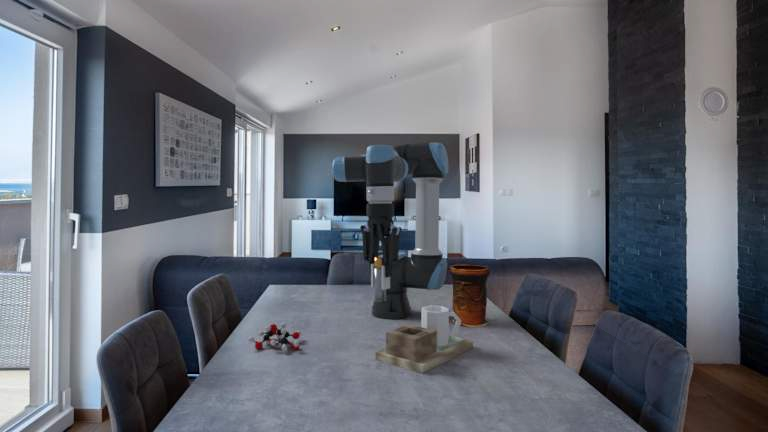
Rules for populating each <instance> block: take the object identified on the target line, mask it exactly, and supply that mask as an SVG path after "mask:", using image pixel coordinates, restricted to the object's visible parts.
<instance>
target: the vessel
mask: <svg viewBox="0 0 768 432" xmlns="http://www.w3.org/2000/svg"><path fill="white" fill-rule="evenodd" d="M449 273H450V275H451V277H452V310H453V311H452V312H454V313H455V314H456V315H457V316H458V317H459V319H460V320H461V324H460V326H461V325H462V326H465V327H468V328H469V327H472V328H473V327H474V328H476V327H485V326H487V325H488V322H489V321H487V320H486V315H487V314H486V313H487V309H486V308H487V305H488V304H487V302H488V300H487V298H488V297H487V281H488V278H489V276H490V273H491V271H490V268H489V267H488V266H486V265H478V264H475V265H474V264H454V265H451V266H449ZM451 322H453V323H456V319H455V318H453V319H452V320H451Z"/></svg>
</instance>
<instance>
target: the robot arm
mask: <svg viewBox="0 0 768 432" xmlns="http://www.w3.org/2000/svg"><path fill="white" fill-rule="evenodd" d="M449 169H450V167H449V158H448V152H447V149H446V147H445V145H444V144H443V143H441V142H432V141H431V142H430V141H429V142H414V143H413V142H412V143H399V144H395V145H389V144H372V145H369V146H367V148H366V153H365V154H359V155H353V156H345V155H344V156H339V157H336V158H334V159H333V161H332V164H331V173H332V174H331V175H332V177H333V179H334V180H335V181H337V182H340V183H341V182H344V183H347V182H348V183H349V182H366V185H365V186H366V201H367V204H366V216H367V217H368V220H367V222H366V224H364V225H360V226H359V227H360V231H361V236H362V237H361V238H362V250H363V251H362V253H363V260H364V261H366V262H368V264H369V275H370V288H373V289H374V257H378V256H379V250H380V243H381V251H382V252H381V253H382V254H381V255H380V256H383V262H384V264H382V266H381V289H382V290H385V289H386V301H384V302H376V301H373V303H372V304H373V305H372V307H371V314H372V316H373V317H374V318H378V319H387V320H388V319H389V320H390V319H392V320H393V319H396V320H397V319H402V318H408V317H410V316H411V315H412V306H411V304H410V300H409V298H408V297H409V296H408V293H407V290H408V289H416V290H417V289H419V290H427V291H430V290H431V291H437V290H440V289H442V287H443V286H444V284H445V281H446V278H447V271H448V261H447V258H445V257H443V252H442V251H441V250H440V248H439V241H440V240H439V235H440V234H439V230H440V229H439V227H440V225H439V224H440V221H439V220H440V184H441V183H442V182H443V181H444V177H445V176H444V175H447V174H448V173H449ZM410 175H411V180H412V181H413V182H414V183H415V234H414V235H415V239H414V240H415V242H414V243H415V244H414V246H415V248H414V249H413V250H412V251H411V253H410V256H408V254H407V252H402V251H401V252H399V251H400V249H399V248H400V235H401V232H402V227H401V226H399V227H398V226H397V225H395V224H394V221H393V217H394V215H395V204H394V203H393V202H394V201H395V187H394V186H395V183H397V182H400V181H402V180H404V179H406V177H407V176H410Z"/></svg>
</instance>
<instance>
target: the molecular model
mask: <svg viewBox="0 0 768 432" xmlns="http://www.w3.org/2000/svg"><path fill="white" fill-rule="evenodd" d="M280 327H281V328H279V329H278V325H276V324H275V323H271V324H270V325H267V326H265V328H264V331H263V330H259V332H258V336H259V337H263V339H262V340H261V341H257V340H255V338H254V336H250V337H248V342H249V343H255V344H254V347H255V349H257V350H261V349H262V348H263V347H264V343H265V344H266V346H271V347H277V345H278V344H281V345H282V346H281V350H282V351H284V352H286V351H287V350H288V346H289V345H290V346H291V349H292V350H293V351H297V350H299V348H300V342H299V341H297V340H298V339H299V338H300V336H301V334H302V333H301V330H296V331H294V332H293V333H292V334H290V332H289V331H287V329H285V328H286V327H287V324H286V322H282V323H281V324H280ZM265 331H266V332H265ZM275 335H276V337H277V338H272V339H271V337H273V336H275ZM289 337H292V338H293V339H294V340H292V341H289V340H288V338H289Z"/></svg>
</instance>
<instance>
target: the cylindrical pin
mask: <svg viewBox="0 0 768 432" xmlns="http://www.w3.org/2000/svg"><path fill="white" fill-rule="evenodd" d="M382 264H384V262H383V256H381V255H378V257H374V288H373V289H374V292H373V293H374V301H376V302H384V301H386V289H385V290H382V289H381V266H382ZM374 301H373V302H374Z"/></svg>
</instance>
